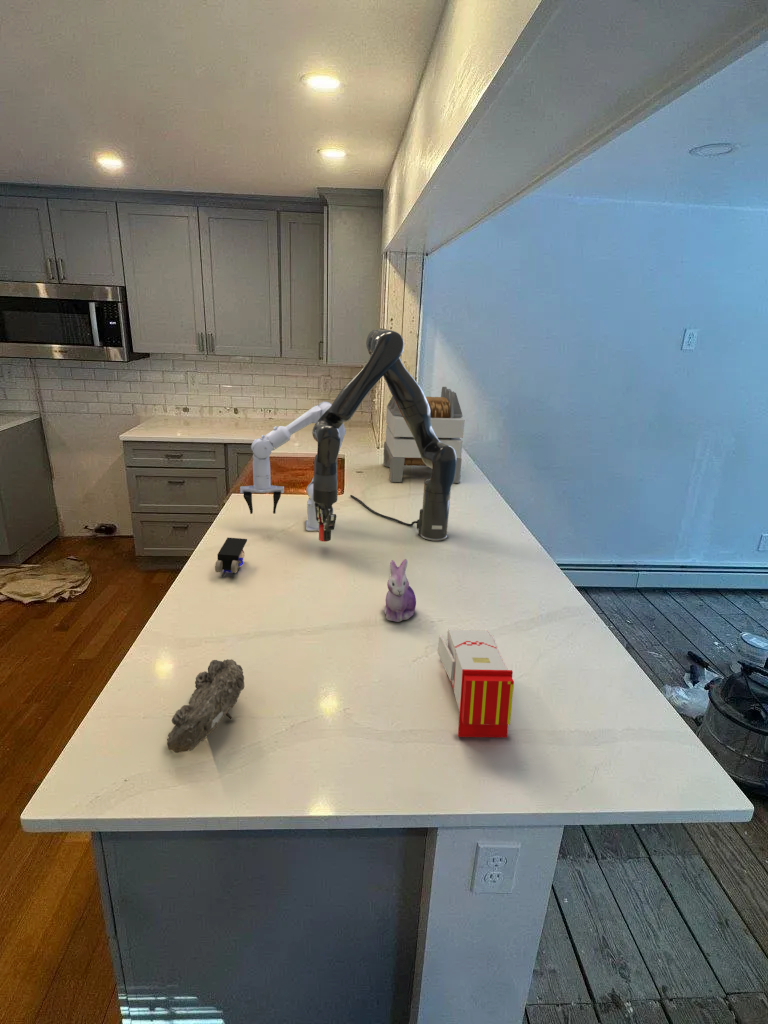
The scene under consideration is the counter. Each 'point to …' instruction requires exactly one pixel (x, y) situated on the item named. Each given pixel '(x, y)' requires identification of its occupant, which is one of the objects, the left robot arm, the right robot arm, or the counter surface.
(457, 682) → the toy
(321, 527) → the canister
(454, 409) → the grey storage crate
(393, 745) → the counter surface
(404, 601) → the figurine
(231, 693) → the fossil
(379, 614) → the counter surface
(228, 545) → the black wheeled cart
